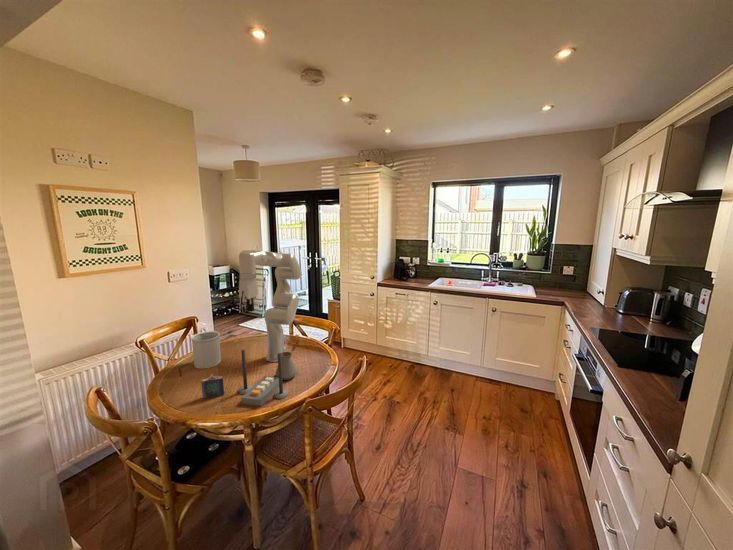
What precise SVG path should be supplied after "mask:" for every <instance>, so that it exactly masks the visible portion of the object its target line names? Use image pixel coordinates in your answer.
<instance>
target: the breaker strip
mask: <svg viewBox="0 0 733 550" xmlns="http://www.w3.org/2000/svg"><path fill="white" fill-rule="evenodd" d="M282 383H283V381H282ZM283 384H284V383H283ZM277 390H279V378H278V377H277V376H267V375H263V377H262V378H261V379H260V380H259V381H258V382H256V383H255V384H254V386H252V388H251V389H250V390H249V391H248V392H247V393H246V394H243V395H242V396H241V398H240V400H241V404H242V405H249V406H258V407H263V405H264V404H265V403H266V402H267V401H268V400H269V399H270V398H271V397H272V396H273V395H274V393H275V392H276V391H277Z"/></svg>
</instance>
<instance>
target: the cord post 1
mask: <svg viewBox="0 0 733 550" xmlns="http://www.w3.org/2000/svg"><path fill="white" fill-rule="evenodd" d="M240 351H241V352H240V353H241V365H242V379H243V385H242V386H240V387H239V388H238V393H239V394H240V395H245V394H246V393H247V392H248V391H249V390H250V389H251V388H252V387H253V386H252V385H251V384H248V376H247V361H246V349H241V350H240Z"/></svg>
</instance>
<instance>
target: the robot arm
mask: <svg viewBox="0 0 733 550" xmlns="http://www.w3.org/2000/svg"><path fill="white" fill-rule="evenodd" d="M238 264H239V265H238V267H239V279H240V280H239V282H238V283H239V285H238V296H239V300H242V301H241V302H243V303H244V304H245V305H246V312H254V311H255V305H254V303H255V299H256V298H257V296H258V293H259V289H258V280H257V272H256V271H257V270H256V269H257V268H256V267H257V266H261V267H272V268H273V267H275V270H274V275H275V279H276V283H277V284H276V285H277V286H276V290H275V292H274V295H273V298H272V303H271V305H272V306H273V307H272V308H271V307H270V308H267V309H266V310H265V312H264V317H263V318H264V321H265V326H266V336H267V337H266V339H267V355H266V356H265V361H267V362H270V363H278V353H283V352H285V350H286V349H287V346H285V340H284V328H283V326H290V325H292V324H293V321H294V319H295V318H296V317H295V316H296V313H297V309H298V306H299V296H298V295H297V294H296V293H291V288H292V287H291V285H290V283H289V282H288V280H291V281H297V280H299V279H301V277H302V268H301V267H300V264H299V262H298V259H297V258H296V256H295V255H294V254H293V253H285V252H284V253H282V252H275V251H274V252H273V251H264V250H253V249H249V250H247V249H246V250H245V249H244V250H242V251H240V252H239V254H238ZM282 325H283V326H282Z"/></svg>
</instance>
